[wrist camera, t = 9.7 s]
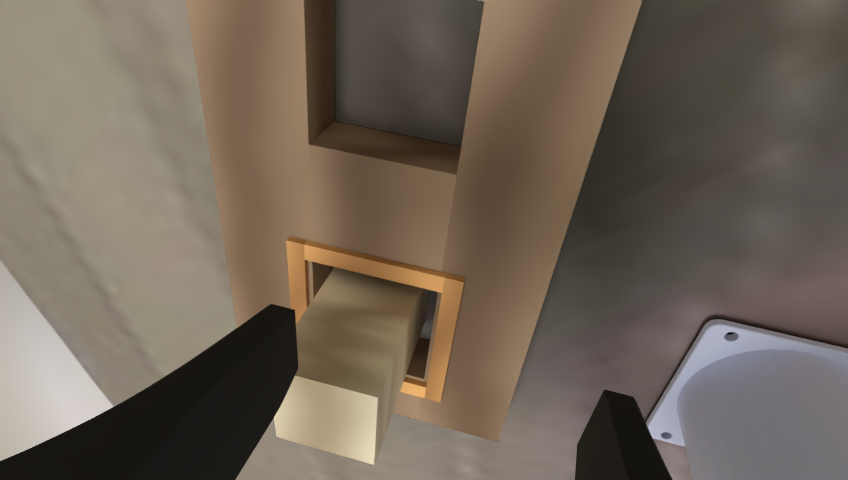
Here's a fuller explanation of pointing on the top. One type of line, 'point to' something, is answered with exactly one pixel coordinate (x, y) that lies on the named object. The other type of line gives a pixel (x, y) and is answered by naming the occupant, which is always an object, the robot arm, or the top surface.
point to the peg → (351, 363)
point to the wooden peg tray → (409, 180)
